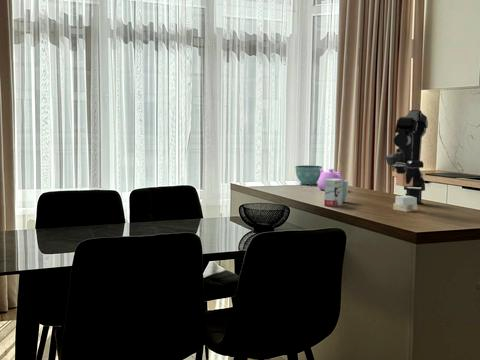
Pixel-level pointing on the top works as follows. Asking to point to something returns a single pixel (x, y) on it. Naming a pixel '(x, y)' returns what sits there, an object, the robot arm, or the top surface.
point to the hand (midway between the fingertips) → (404, 183)
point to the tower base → (404, 207)
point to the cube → (402, 180)
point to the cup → (344, 190)
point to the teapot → (327, 177)
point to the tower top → (406, 200)
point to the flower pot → (308, 174)
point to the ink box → (333, 192)
